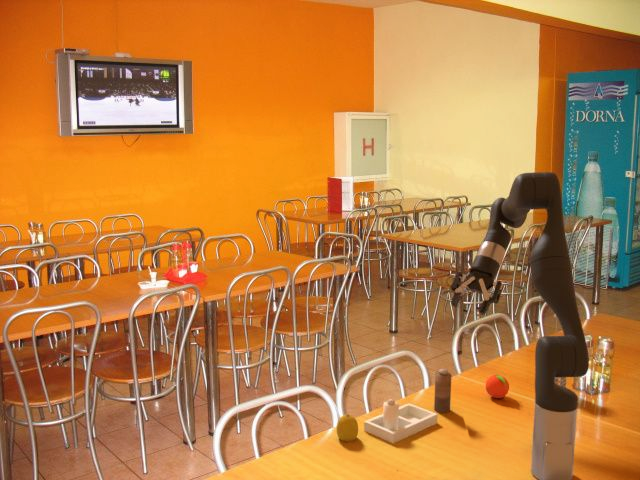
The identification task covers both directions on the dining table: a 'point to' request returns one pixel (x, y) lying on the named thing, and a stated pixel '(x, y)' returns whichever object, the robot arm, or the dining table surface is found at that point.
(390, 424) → the salt shaker
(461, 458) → the dining table surface
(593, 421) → the dining table surface
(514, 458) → the dining table surface
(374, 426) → the caddy
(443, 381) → the pepper mill
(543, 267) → the robot arm
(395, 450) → the dining table surface
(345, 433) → the lemon
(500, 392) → the clementine
